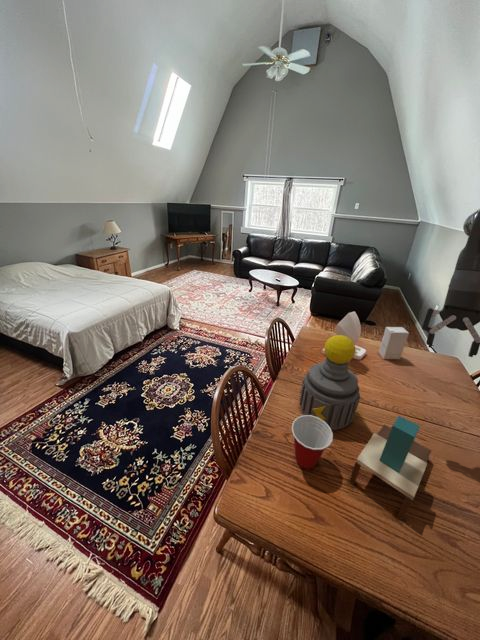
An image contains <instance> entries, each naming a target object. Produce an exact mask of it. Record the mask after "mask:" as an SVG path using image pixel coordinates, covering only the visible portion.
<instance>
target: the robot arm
mask: <svg viewBox="0 0 480 640" xmlns="http://www.w3.org/2000/svg"><path fill="white" fill-rule="evenodd" d="M462 227H463V232H464V233H465V235H466V236H468V237H467V240H466V243H465V246H464V247H463V248H462V249H461V250H460V252H459V254H458V256H457V260H456V263H455V267H454V271H453V273H452V275H451V278H450V282H449V284H448V289H447V292H446V297H445V299H444V303H443V307H442V308H441V309H435V308H432V307H429V308H428V309H427V311H426V314H425V318H424V320H423V323H422V326H421V329H422V331H423V330H424V331H426V332H427V333H428V334H427V339H426V342H425V344H426V345H427V346H428V348H430V349H432V348H433V343H434V340H435V336H436V333H437V332H438V331H440V330H441V329H443V328H445V327H446V328H448V329H451V330H459V331H463V332H464V331H468V333H469V334H470V335H471V337H472V339H473V341H472V342H471V345H470V348H469V350H468V357H470V358H473V357H474V356H477V355H478V353H479V349H480V334H479V332H478V331H477V330H476V328H475V327H474V326H476V325H478V324H479V323H480V208H479V209H477V210H475V211H474V212H473V213H471V214H470V215H468V217H466V219H465V220H464V223H463V226H462ZM437 315H439V317H440V318H441V320H440V322H438V323H437V324H436V325H434V326H433V327H431V326H429V325H430V322H431V319H432V318H435V317H436V316H437Z"/></svg>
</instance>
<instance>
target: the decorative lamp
mask: <svg viewBox="0 0 480 640" xmlns="http://www.w3.org/2000/svg"><path fill="white" fill-rule="evenodd" d="M323 349H324V351H325V354H324V356H325V359H324V360H323V362H317V363H315V364H313V365H312V366H311V367H310V368H309V370H308V371H307V372H306V374H305V376H304V377H303V379H301V382H302V384H301V388H300V390H299V393H300V394H299V406H300V412H301V413H302V415H312V416H315V417H318V418H320V419H322V420H323V421H325V422H326V423H327V424H328V426H329V427H330V428H331V431H336V430H342V429H344V428H346V427H348V426H349V424H352V422H353V421H354V419H355V416H356V413H357V410H358V407H359V404H360V400H361V394H360V387H359V379H358V377H357V375H356V374H355V373H354V372H353V371H352V370H350V369H349V362H351V360H353V359H354V358H353V357H354V354H355V346H354V344H353V342H352V341H351V339H349V338H348V337H346V336H343V335H337V334H334V335H332V336H331V337H329V338H328V339H327V340H326V341H325V342H324V348H323Z"/></svg>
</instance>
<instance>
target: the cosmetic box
mask: <svg viewBox="0 0 480 640" xmlns="http://www.w3.org/2000/svg"><path fill="white" fill-rule="evenodd" d="M383 332H384V333H383V335H382V339H381V342H380V345H379V348H378V349H379V350H378V354H379V355H380V357H381V358H382V359H383V360H401V359H402V355H403V352H404V350H405V347H406V343H407V340H408V338H409V335H410V332H409V331H407V330H406V328H405V327H403V326H385V329H384V331H383Z"/></svg>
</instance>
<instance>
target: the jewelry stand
mask: <svg viewBox="0 0 480 640" xmlns="http://www.w3.org/2000/svg"><path fill="white" fill-rule="evenodd" d="M333 333H334V334H335V335H343V336H346V337H348V338H349V339H351V341H352V342H353V344H354V346H355V354H354V357H353V358H352V359H354V360H358V361H359V360H362V359H363V358H364V357H365V356H366V354H367V350H366V349H365V348H364V347H361V346H359V345H357V343H358V341H359V339H360V337H361V334H362V325H361V322H360V319H359V316H358V314H357V313H356V311H351V312H348V313H347V314H346V315H345V316H344V317H343V318H342V319H341V320H340V321H339V322H338V323H337V325H336V326H335V328H334V330H333ZM321 354H323V355H325V351H324V348H323V349H322V352H321Z"/></svg>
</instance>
